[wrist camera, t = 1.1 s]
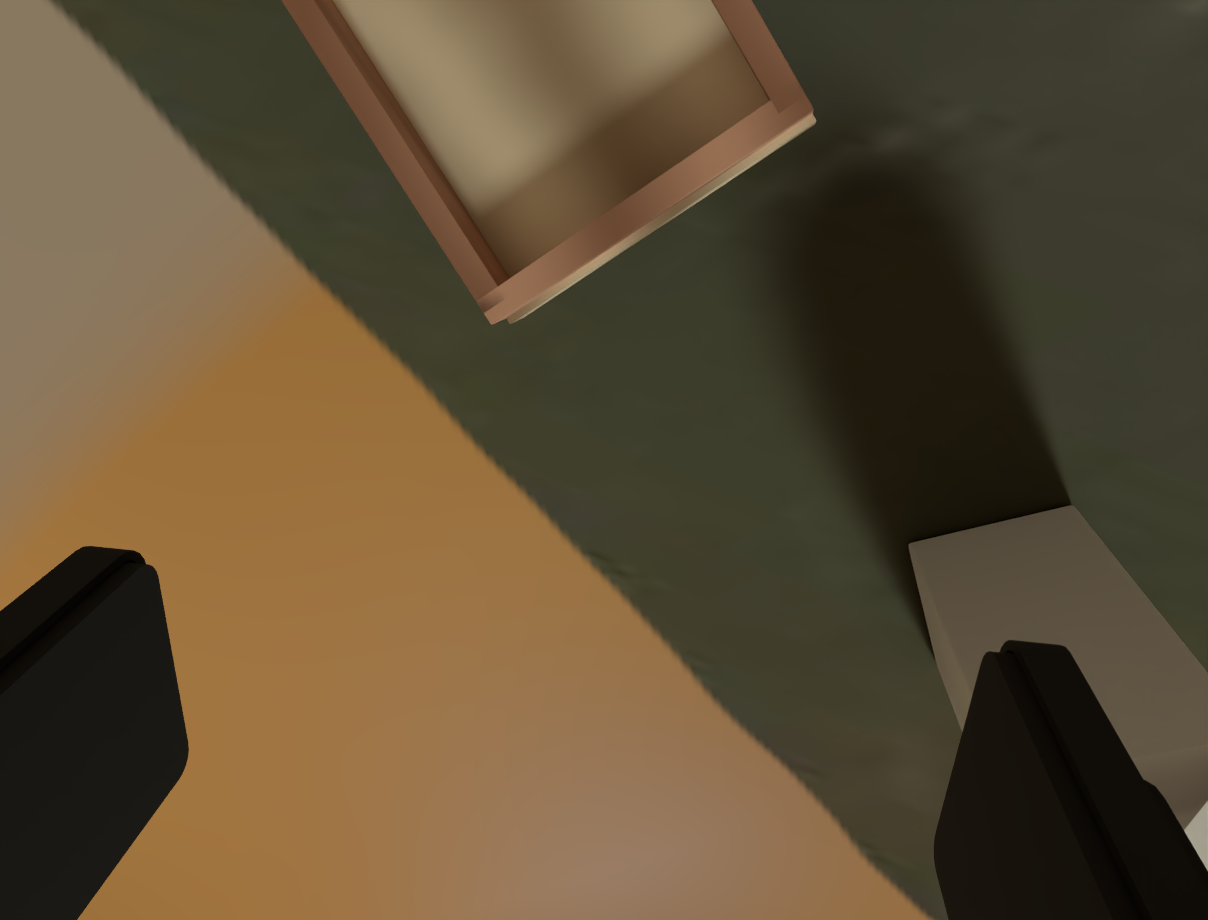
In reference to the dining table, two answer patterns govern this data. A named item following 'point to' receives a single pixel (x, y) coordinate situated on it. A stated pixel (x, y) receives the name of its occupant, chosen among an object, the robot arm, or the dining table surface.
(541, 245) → the seesaw beam
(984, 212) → the dining table surface
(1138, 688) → the milk carton
